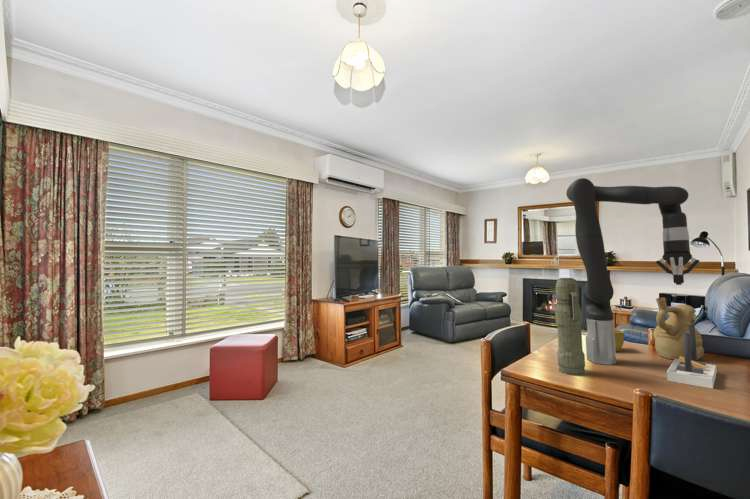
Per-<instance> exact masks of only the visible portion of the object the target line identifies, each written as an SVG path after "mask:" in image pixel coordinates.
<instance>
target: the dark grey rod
mask: <svg viewBox="0 0 750 499" xmlns="http://www.w3.org/2000/svg"><path fill="white" fill-rule="evenodd" d="M695 328H696V326H695V325H694V324H693V325H689V337H690V350H691V360H693V361H698V359H697V351H696V337H695Z"/></svg>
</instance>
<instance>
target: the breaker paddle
mask: <svg viewBox="0 0 750 499" xmlns="http://www.w3.org/2000/svg"><path fill="white" fill-rule="evenodd" d="M678 361H681V362H684V363H685V359H684V357H682V356H680V357H679V359H678ZM691 365H692V367H693V366H694V367H697V368H703V369H704V371H705V369H706V367H707V366H705V365H702V364H700V363H697V362H694V360H693V361H692V360H691Z"/></svg>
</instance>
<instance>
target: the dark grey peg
mask: <svg viewBox="0 0 750 499" xmlns="http://www.w3.org/2000/svg"><path fill="white" fill-rule="evenodd" d="M683 345H684V359H685V371H687V372H692V365H691V352H690V338H689V333H687V332H684V333H683Z"/></svg>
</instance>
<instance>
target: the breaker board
mask: <svg viewBox="0 0 750 499" xmlns="http://www.w3.org/2000/svg"><path fill="white" fill-rule="evenodd" d="M693 361H694V360H693ZM694 362H697V363H700V364H702V365H705V366H707V367H706V369H705V371H704V369H703V368H697V367H694V366H693V367H692V372H687V371H685V363H684V362H681V361H678V359H675V360H673V361H672V363H671V364H670V366H669V367H668V368H667V370H666V381H668V382H673V383H680V384H685V385H690V386H691V385H692V386H695V387H696V386H697V387H702V388H708V389H711V390H712V389H714V386H715V382H716V378H717V375H716V374H718V373H717V364H716V365H715V364H710V363H706V361H699V360H697V361H694Z"/></svg>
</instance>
